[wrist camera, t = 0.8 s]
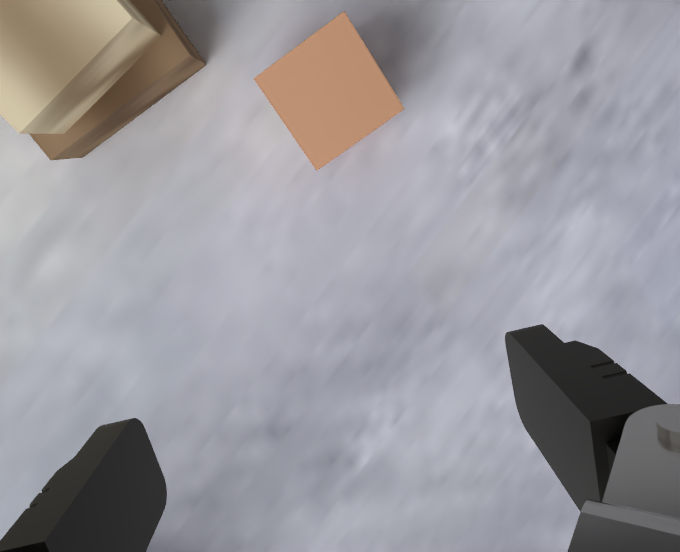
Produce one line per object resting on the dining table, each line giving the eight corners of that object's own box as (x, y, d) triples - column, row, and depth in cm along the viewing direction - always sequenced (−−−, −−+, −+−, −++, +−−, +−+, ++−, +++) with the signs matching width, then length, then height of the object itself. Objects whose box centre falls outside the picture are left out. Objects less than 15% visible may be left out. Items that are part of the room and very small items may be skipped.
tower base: (101, -87, 27) (64, -124, 23) (207, 65, 29) (190, 55, 25) (-26, 17, 28) (-81, -2, 24) (85, 157, 30) (50, 160, 26)
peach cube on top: (340, 36, 29) (344, 11, 23) (389, 114, 30) (404, 109, 24) (267, 89, 29) (253, 78, 24) (318, 164, 31) (316, 170, 25)
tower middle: (50, -91, 24) (-4, -135, 20) (161, 36, 25) (132, 17, 21) (-49, 18, 25) (-118, -4, 21) (64, 133, 26) (19, 133, 22)
